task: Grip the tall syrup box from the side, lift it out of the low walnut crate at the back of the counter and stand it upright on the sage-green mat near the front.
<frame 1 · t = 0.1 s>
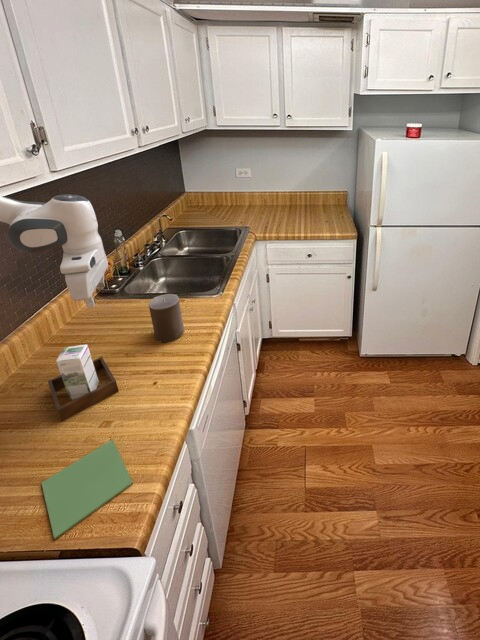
hand: (96, 296, 95), 26 cm above the counter, tool pointing down, fingers open, 8 cm apart
green mat: (87, 484, 72), on the counter
pillar candle: (170, 333, 119), on the counter
walnut crate: (85, 391, 95), on the counter
syrup box: (85, 392, 95), resting in walnut crate
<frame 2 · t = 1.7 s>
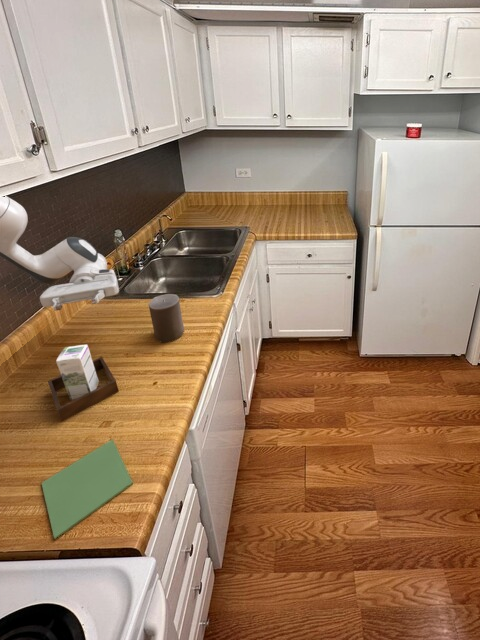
hand: (76, 304, 97), 22 cm above the counter, tool horizontal, fingers open, 8 cm apart
nothing on the counter moved.
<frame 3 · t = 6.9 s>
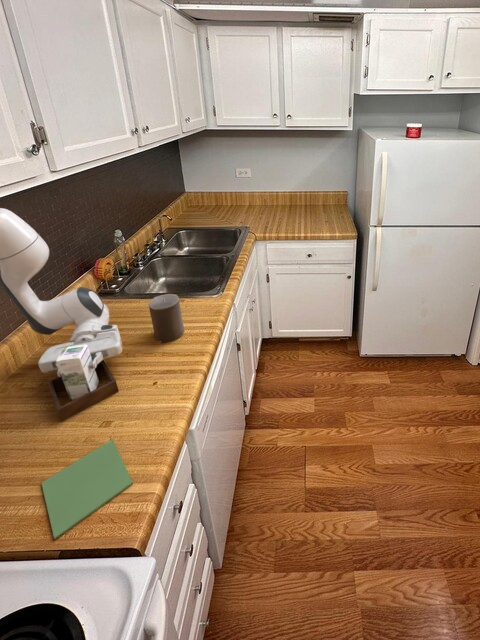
hand: (77, 370, 91), 9 cm above the counter, tool horizontal, fingers closed on syrup box, 6 cm apart
syrup box: (85, 391, 95), resting in walnut crate, touching gripper
everything else where it was.
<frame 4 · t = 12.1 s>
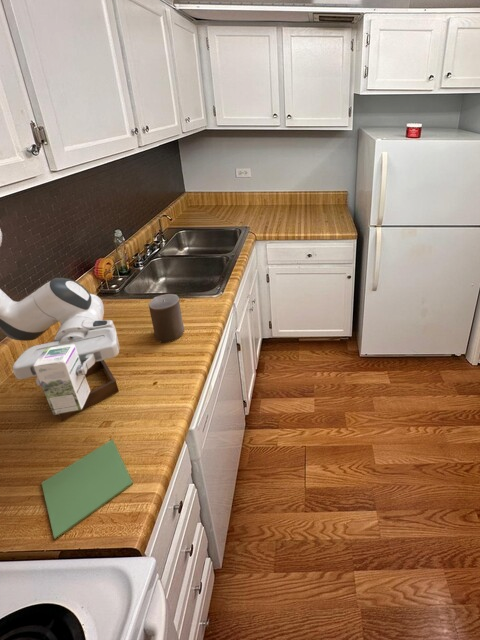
hand: (61, 377, 72), 22 cm above the counter, tool horizontal, fingers closed on syrup box, 6 cm apart
syrup box: (73, 403, 76), point 13 cm above the counter, touching gripper
everything else where it was.
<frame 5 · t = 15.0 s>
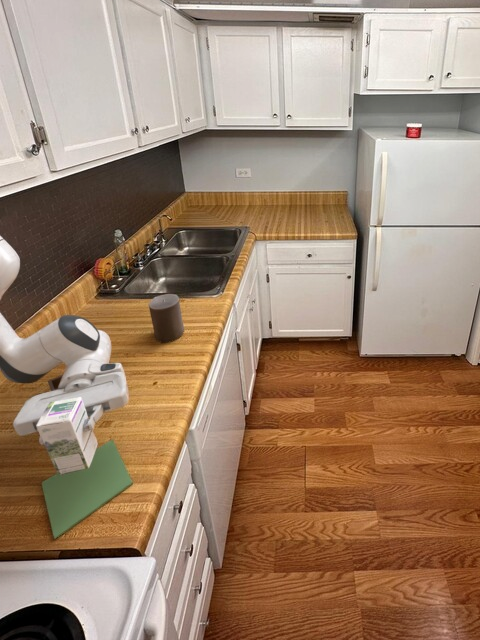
hand: (67, 435, 66), 16 cm above the counter, tool horizontal, fingers closed on syrup box, 6 cm apart
syrup box: (79, 460, 70), point 8 cm above the counter, touching gripper
everything else where it was.
when the fingers open (9 cm above the counter, at t = 17.5 s): syrup box stays where it is, resting on green mat.
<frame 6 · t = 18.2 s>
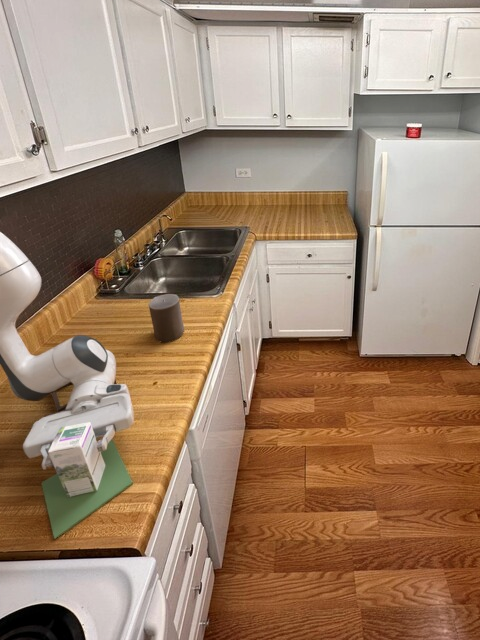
hand: (74, 457, 68), 10 cm above the counter, tool horizontal, fingers open, 8 cm apart
syrup box: (87, 482, 72), resting on green mat
everything else where it was.
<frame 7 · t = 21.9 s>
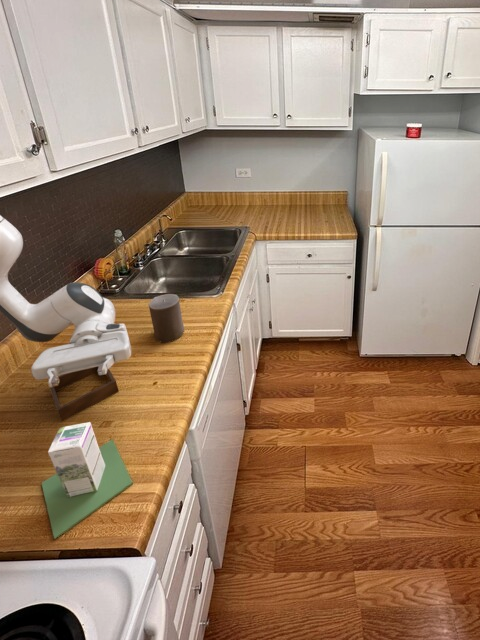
hand: (77, 378, 76), 19 cm above the counter, tool horizontal, fingers open, 8 cm apart
nothing on the counter moved.
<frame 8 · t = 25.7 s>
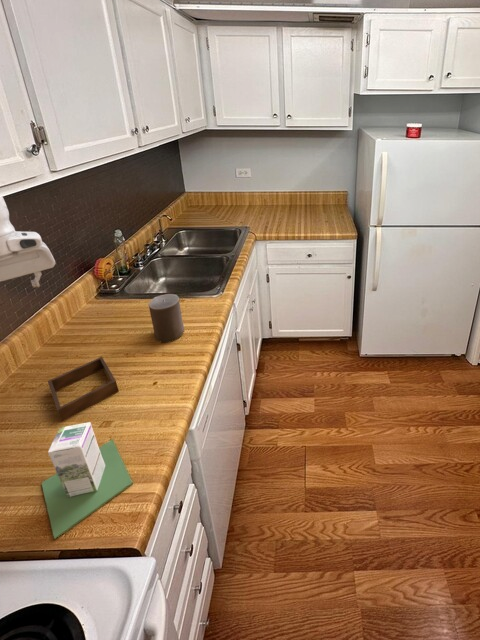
hand: (13, 293, 86), 31 cm above the counter, tool pointing down, fingers open, 8 cm apart
nothing on the counter moved.
at the end: syrup box inside the target area on the green mat (0.1 cm from its centre), point 0.4 cm above the green mat's base; syrup box tilted 0°; the gripper is holding nothing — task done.
